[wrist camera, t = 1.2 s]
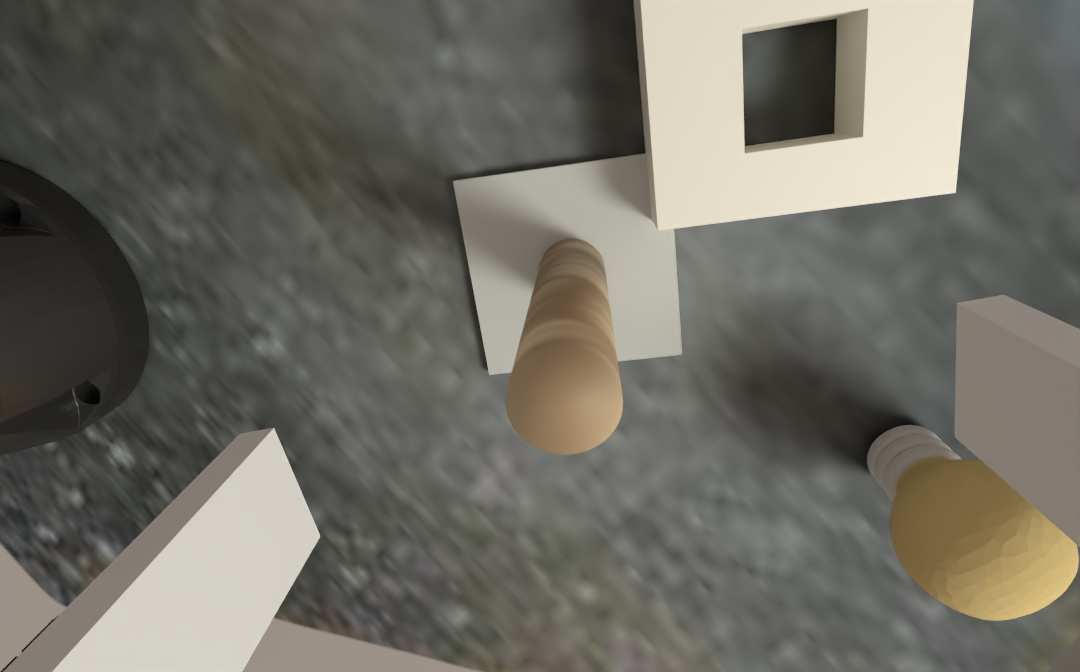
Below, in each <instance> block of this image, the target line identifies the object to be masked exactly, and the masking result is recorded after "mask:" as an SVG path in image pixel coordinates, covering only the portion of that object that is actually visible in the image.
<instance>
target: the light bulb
mask: <svg viewBox="0 0 1080 672" xmlns="http://www.w3.org/2000/svg"><path fill="white" fill-rule="evenodd" d="M867 465H868V469H869V471H870V473H871V475H872V476H873V477H874V479H875V480H876V481H877V482H878V483H879V485H880V486H881V488H882V489H883V490H884V492H885V493H886V494H887V495H888V497H889V498H890V499H891V501H892V502H893V506H892V510H891V517H890V529H891V537H892V542H893V545H894V549H895V552H896V554H897V556H898V558H899V559H900V561H901V563H902V565H903V567H904V568H905V570H906V571H907V572H908V573H909V575H910V576H911V577H912V578H913V579H914V580H915V581H916V583H917V584H918V585H919V586H920V587H921V588H922V589H924V590H925V591H926V592H927V593H929V594H930V595H931V596H932V597H933V598H935V599H937V600H939V601H940V602H942V603H944V604H945V605H947V606H949V607H951V608H952V609H954V610H956V611H959V612H962V613H964V614H967V615H969V616H972V617H976V618H980V619H984V620H996V621H998V620H1009V619H1013V618H1017V617H1021V616H1025V615H1028V614H1031V613H1034V612H1036V611H1038V610H1040V609H1042V608H1044V607H1046V606H1047V605H1048V604H1050V603H1051V602H1053V601H1054V600H1055V599H1056V598H1058V597H1059V596H1060V595H1062V594H1063V593H1064V592H1065V591H1066V590H1067V588H1068V587H1069V585H1070V584H1071V582H1072V580H1073V579H1074V577H1075V575H1076V572H1077V569H1078V561H1079V558H1078V549H1077V544H1076V543H1075V542H1073V541H1072V540H1071V539H1070V538H1069V537H1068V536H1067V535H1066V534H1064V533H1063V532H1062V531H1061V530H1060V529H1059V528H1058V527H1056V526H1055V525H1054V524H1053V523H1052V522H1051V521H1050V520H1048V519H1047V518H1046V517H1045V516H1044V515H1043V514H1042V513H1041V512H1039V511H1038V510H1037V509H1036V508H1035V507H1034V506H1033V505H1031V504H1030V503H1029V502H1028V501H1027V500H1026V499H1025V498H1024V497H1022V496H1021V495H1020V494H1019V493H1018V492H1017V491H1016V490H1014V489H1013V488H1012V487H1011V486H1010V485H1009V484H1008V483H1006V482H1005V481H1004V480H1003V479H1002V478H1001V477H1000V476H999V475H997V474H996V473H995V472H994V471H993V470H992V469H991V468H989V467H988V466H987V465H986V464H985V463H984V462H983V461H979V460H972V459H961V458H960V457H959V456H958V455H957V454H956V453H954V452H953V451H952V450H951V449H950V448H949V447H948V446H947V445H946V444H945V443H944V442H943V441H942V440H941V439H940V438H939V437H938V436H937V435H936V434H934V433H933V432H932V431H930V430H928V429H926V428H924V427H921V426H915V425H904V426H898V427H894V428H892V429H890V430H887V431H886V432H884V433H883V434H881V435H880V436H879V437H878V438H877V439H876V440H875V441H874V442H873V443H872V445H871V447H870V449H869V452H868V455H867Z"/></svg>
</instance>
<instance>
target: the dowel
mask: <svg viewBox="0 0 1080 672" xmlns="http://www.w3.org/2000/svg"><path fill="white" fill-rule="evenodd" d="M622 409H623V396H622V389H621V382H620V374H619V367H618V360H617V353H616V345H615V338H614V331H613V323H612V316H611V309H610V301H609V294H608V287H607V279H606V272H605V265H604V261H603V259H602V256H601V255H600V253H599V252H598V251H597V249H596V248H595V247H593V246H592V245H591V244H589V243H587V242H585V241H582V240H578V239H566V240H562V241H559V242H557V243H555V244H554V245H552V246H551V247H550V248H549V249H548V250H547V251H546V252H545V254H544V255H543V257H542V259H541V262H540V266H539V270H538V274H537V277H536V281H535V285H534V289H533V293H532V296H531V300H530V304H529V308H528V312H527V315H526V319H525V323H524V327H523V331H522V334H521V338H520V342H519V346H518V350H517V353H516V357H515V361H514V365H513V369H512V372H511V376H510V380H509V384H508V388H507V392H506V410H507V414H508V417H509V420H510V422H511V424H512V426H513V427H514V429H515V430H516V432H517V433H518V434H519V435H520V436H521V437H522V438H523V439H524V440H525V441H527V442H528V443H529V444H531V445H533V446H534V447H536V448H538V449H540V450H543V451H546V452H549V453H554V454H576V453H581V452H585V451H588V450H590V449H593V448H594V447H596V446H598V445H600V444H601V443H602V442H604V441H605V440H606V439H607V438H608V437H609V436H610V435H611V434H612V433H613V431H614V430H615V428H616V427H617V425H618V423H619V421H620V418H621V414H622Z"/></svg>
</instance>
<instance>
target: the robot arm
mask: <svg viewBox="0 0 1080 672" xmlns="http://www.w3.org/2000/svg"><path fill="white" fill-rule="evenodd" d="M148 346H149V327H148V318H147V313H146V308H145V304H144V300H143V296H142V293H141V290H140V288H139V285H138V283H137V280H136V278H135V275H134V273H133V271H132V269H131V267H130V265H129V264H128V262H127V260H126V258H125V257H124V255H123V253H122V252H121V250H120V249H119V247H118V246H117V244H116V243H115V242H114V240H113V239H112V238H111V236H110V235H109V234H108V233H107V231H106V230H105V229H104V228H103V227H102V226H101V224H100V223H99V222H98V221H97V220H96V219H95V218H94V217H93V216H92V215H91V214H90V213H89V212H88V211H87V210H86V209H85V208H84V207H82V206H81V205H80V204H79V203H78V202H77V201H75V200H74V199H73V198H72V197H70V196H69V195H68V194H66V193H65V192H64V191H62V190H61V189H59V188H58V187H56V186H55V185H53V184H51V183H50V182H48V181H46V180H45V179H43V178H41V177H39V176H37V175H35V174H33V173H31V172H29V171H27V170H24V169H22V168H20V167H17V166H14V165H12V164H9V163H5V162H2V161H0V455H4V454H8V453H12V452H16V451H20V450H24V449H27V448H31V447H35V446H39V445H43V444H47V443H51V442H55V441H58V440H61V439H63V438H66V437H68V436H71V435H73V434H75V433H77V432H79V431H81V430H83V429H85V428H86V427H88V426H89V425H91V424H92V423H94V422H96V421H97V420H99V419H100V418H102V417H103V416H105V415H106V414H108V413H109V412H111V411H112V410H114V409H115V408H117V407H118V406H119V405H120V404H121V403H122V402H123V401H124V400H125V399H126V398H127V397H128V396H129V395H130V394H131V392H132V391H133V389H134V388H135V387H136V385H137V383H138V381H139V379H140V377H141V375H142V372H143V370H144V366H145V363H146V359H147V354H148ZM955 438H957V439H958V440H959V441H960V442H961V443H962V444H963V445H964V446H966V447H967V448H968V449H969V450H970V451H971V452H972V453H974V454H975V455H976V456H977V457H978V458H979V459H980V460H981V461H983V462H984V463H985V464H986V465H987V466H988V467H989V468H991V469H992V470H993V471H994V472H995V473H996V474H997V475H999V476H1000V477H1001V478H1002V479H1003V480H1004V481H1005V482H1006V483H1008V484H1009V485H1010V486H1011V487H1012V488H1013V489H1014V490H1016V491H1017V492H1018V493H1019V494H1020V495H1021V496H1022V497H1024V498H1025V499H1026V500H1027V501H1028V502H1029V503H1030V504H1031V505H1033V506H1034V507H1035V508H1036V509H1037V510H1038V511H1039V512H1041V513H1042V514H1043V515H1044V516H1045V517H1046V518H1047V519H1048V520H1050V521H1051V522H1052V523H1053V524H1054V525H1055V526H1056V527H1058V528H1059V529H1060V530H1061V531H1062V532H1063V533H1064V534H1066V535H1067V536H1068V537H1069V538H1070V539H1071V540H1072V541H1073V542H1075V543H1076V544H1077V545H1078V546H1079V547H1080V329H1078V328H1076V327H1073V326H1071V325H1069V324H1067V323H1065V322H1062V321H1060V320H1058V319H1056V318H1054V317H1051V316H1049V315H1047V314H1045V313H1042V312H1040V311H1038V310H1036V309H1034V308H1031V307H1029V306H1027V305H1025V304H1023V303H1020V302H1018V301H1016V300H1014V299H1011V298H1009V297H1007V296H1005V295H1000V296H994V297H989V298H983V299H978V300H972V301H967V302H961V303H957V335H956V390H955ZM319 538H320V534H319V532H318V529H317V527H316V525H315V522H314V520H313V518H312V515H311V513H310V511H309V508H308V506H307V504H306V501H305V499H304V497H303V494H302V492H301V490H300V487H299V485H298V483H297V480H296V478H295V476H294V473H293V471H292V469H291V466H290V464H289V462H288V459H287V457H286V455H285V452H284V450H283V448H282V445H281V443H280V441H279V438H278V436H277V434H276V431H275V429H274V428H271V429H265V430H260V431H254V432H249V433H243V434H239V435H238V436H237V437H236V438H235V439H234V440H233V441H232V442H231V443H230V444H229V445H228V446H227V447H226V448H225V449H224V450H223V451H222V452H221V453H220V454H219V455H218V456H217V457H216V458H215V459H214V460H213V461H212V462H211V463H210V464H209V465H208V466H207V467H206V468H205V469H204V470H203V471H202V472H201V473H200V474H199V475H198V476H197V477H196V478H195V479H194V480H193V481H192V482H191V483H190V484H189V486H188V487H187V488H186V489H185V490H184V491H183V492H182V493H181V494H180V495H179V496H178V497H177V498H176V499H175V500H174V501H173V502H172V503H171V504H170V505H169V506H168V507H167V508H166V509H165V510H164V511H163V512H162V513H161V514H160V515H159V516H158V517H157V518H156V519H155V520H154V521H153V522H152V523H151V524H150V525H149V526H148V527H147V528H146V529H145V530H144V531H143V532H142V533H141V534H140V535H139V536H138V537H137V538H136V539H135V540H134V541H133V542H132V543H131V544H130V545H129V546H128V547H127V548H126V549H125V550H124V551H123V552H122V553H121V554H120V555H119V556H118V557H117V558H116V559H115V560H114V561H113V562H112V563H111V564H110V565H109V566H108V567H107V568H106V569H105V570H104V571H103V572H102V573H101V574H100V575H99V576H98V577H97V578H96V579H95V580H94V581H93V582H92V583H91V584H90V585H89V586H88V587H87V588H86V589H85V590H84V591H83V592H82V593H81V594H80V595H79V596H78V597H77V598H76V599H75V600H74V601H73V602H72V603H71V604H70V605H69V606H68V607H67V608H66V609H65V610H64V611H63V612H62V613H61V614H60V615H59V616H57V617H56V618H55V619H53V620H52V621H51V622H50V623H49V624H48V625H47V626H46V627H45V628H44V629H43V630H42V631H41V632H40V633H39V634H38V635H37V636H36V637H35V638H34V639H33V640H32V641H31V642H30V643H29V644H28V645H27V646H26V647H25V648H24V649H23V650H22V653H21V654H20V655H19V656H18V657H15V658H14V659H13V660H12V661H11V662H10V663H9V664H8V665H7V666H6V667H5V668H4V669H3V670H2V671H1V672H242V671H243V669H244V668H245V666H246V664H247V662H248V661H249V659H250V657H251V656H252V654H253V652H254V650H255V649H256V647H257V645H258V643H259V642H260V640H261V638H262V636H263V635H264V633H265V631H266V630H267V628H268V626H269V624H270V623H271V621H272V619H273V617H274V616H275V614H276V612H277V611H278V609H279V607H280V605H281V604H282V602H283V600H284V598H285V597H286V595H287V593H288V591H289V590H290V588H291V586H292V585H293V583H294V581H295V579H296V578H297V576H298V574H299V572H300V571H301V569H302V567H303V565H304V564H305V562H306V560H307V559H308V557H309V555H310V553H311V552H312V550H313V548H314V546H315V545H316V543H317V541H318V540H319Z"/></svg>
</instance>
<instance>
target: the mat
mask: <svg viewBox="0 0 1080 672" xmlns="http://www.w3.org/2000/svg"><path fill="white" fill-rule="evenodd" d="M453 185H454V190H455V196H456V201H457V206H458V212H459V217H460V222H461V228H462V233H463V238H464V244H465V249H466V254H467V260H468V265H469V270H470V275H471V281H472V286H473V291H474V297H475V302H476V307H477V313H478V318H479V323H480V329H481V334H482V339H483V345H484V350H485V355H486V360H487V366H488V371H489V375H492V374H502V373H511V372H512V369H513V365H514V361H515V357H516V353H517V350H518V346H519V342H520V338H521V334H522V331H523V327H524V323H525V319H526V315H527V312H528V308H529V304H530V300H531V296H532V293H533V289H534V285H535V281H536V277H537V274H538V270H539V266H540V262H541V259H542V257H543V255H544V254H545V252H546V251H547V250H548V249H549V248H550V247H551V246H552V245H554V244H555V243H557V242H559V241H562V240H566V239H578V240H582V241H585V242H587V243H589V244H591V245H592V246H593V247H595V248H596V249H597V251H598V252H599V253H600V255H601V256H602V259H603V261H604V265H605V272H606V279H607V287H608V294H609V301H610V309H611V316H612V323H613V331H614V338H615V345H616V353H617V360H618V361H626V360H636V359H645V358H655V357H664V356H674V355H682V343H681V328H680V313H679V298H678V283H677V268H676V253H675V238H674V229H667V230H660V231H658V230H657V228H656V227H655V225H654V223H653V222H652V219H651V207H650V194H649V181H648V169H647V156H646V153H644V154H637V155H630V156H623V157H615V158H608V159H601V160H594V161H587V162H580V163H573V164H566V165H559V166H552V167H545V168H538V169H531V170H524V171H517V172H510V173H503V174H496V175H489V176H482V177H475V178H468V179H461V180H454V181H453Z"/></svg>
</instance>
